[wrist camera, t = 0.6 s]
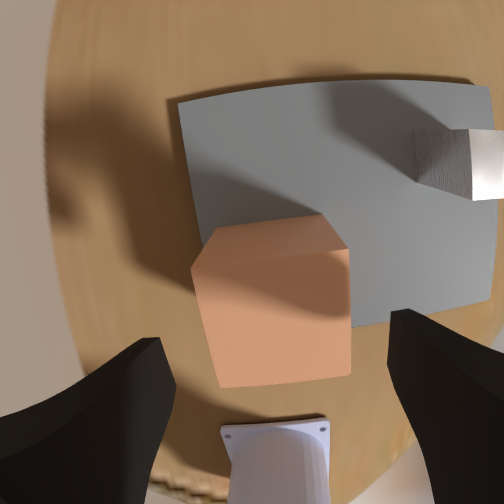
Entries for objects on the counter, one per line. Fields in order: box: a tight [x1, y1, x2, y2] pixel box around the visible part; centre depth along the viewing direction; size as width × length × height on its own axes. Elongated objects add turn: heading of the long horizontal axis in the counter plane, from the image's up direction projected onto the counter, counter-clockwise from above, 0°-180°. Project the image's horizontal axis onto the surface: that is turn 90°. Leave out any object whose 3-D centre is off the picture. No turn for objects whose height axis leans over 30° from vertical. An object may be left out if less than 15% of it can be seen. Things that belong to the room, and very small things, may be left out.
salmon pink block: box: [190, 214, 351, 388], centre depth 14 cm, size 5×5×6 cm
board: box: [178, 80, 498, 328], centre depth 16 cm, size 13×17×1 cm
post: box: [412, 129, 504, 200], centre depth 12 cm, size 3×3×5 cm
